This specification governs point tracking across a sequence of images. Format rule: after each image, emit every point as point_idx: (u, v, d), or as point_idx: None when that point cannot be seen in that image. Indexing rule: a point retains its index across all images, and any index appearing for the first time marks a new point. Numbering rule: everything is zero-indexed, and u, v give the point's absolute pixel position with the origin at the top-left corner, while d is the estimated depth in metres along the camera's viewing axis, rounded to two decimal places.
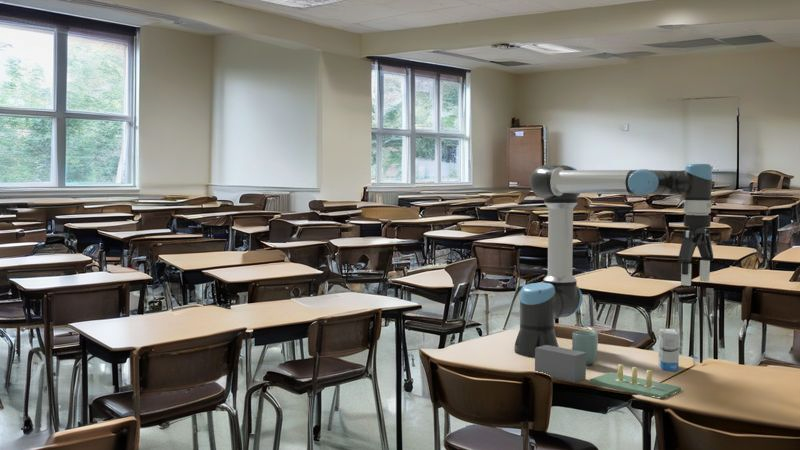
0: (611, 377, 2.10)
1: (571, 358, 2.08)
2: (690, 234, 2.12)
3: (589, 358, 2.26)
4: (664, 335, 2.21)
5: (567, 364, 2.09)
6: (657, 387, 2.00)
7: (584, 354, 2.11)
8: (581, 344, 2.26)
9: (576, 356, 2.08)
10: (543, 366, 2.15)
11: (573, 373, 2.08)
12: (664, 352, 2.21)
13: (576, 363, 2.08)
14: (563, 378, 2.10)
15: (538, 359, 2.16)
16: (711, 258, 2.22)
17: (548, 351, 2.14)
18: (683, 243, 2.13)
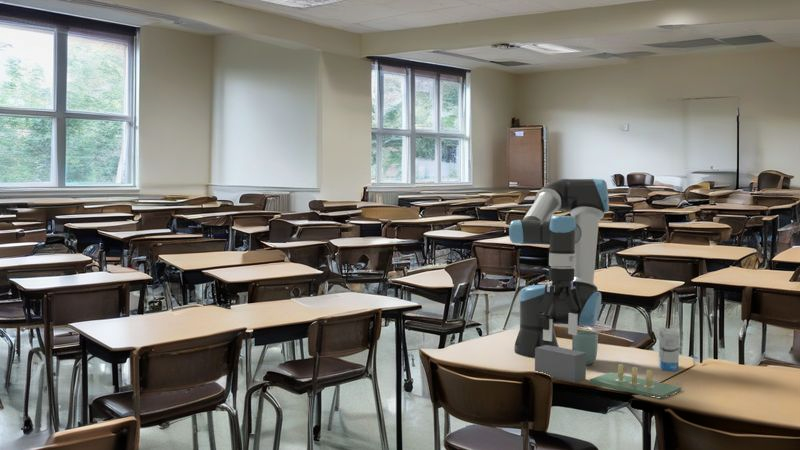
0: (611, 377, 2.10)
1: (571, 358, 2.08)
2: (551, 288, 2.08)
3: (589, 358, 2.26)
4: (664, 335, 2.21)
5: (567, 364, 2.09)
6: (657, 387, 2.00)
7: (584, 354, 2.11)
8: (581, 344, 2.26)
9: (576, 356, 2.08)
10: (543, 366, 2.15)
11: (573, 373, 2.08)
12: (664, 352, 2.21)
13: (576, 363, 2.08)
14: (563, 378, 2.10)
15: (538, 359, 2.16)
16: (579, 311, 2.18)
17: (548, 351, 2.14)
18: (544, 297, 2.08)
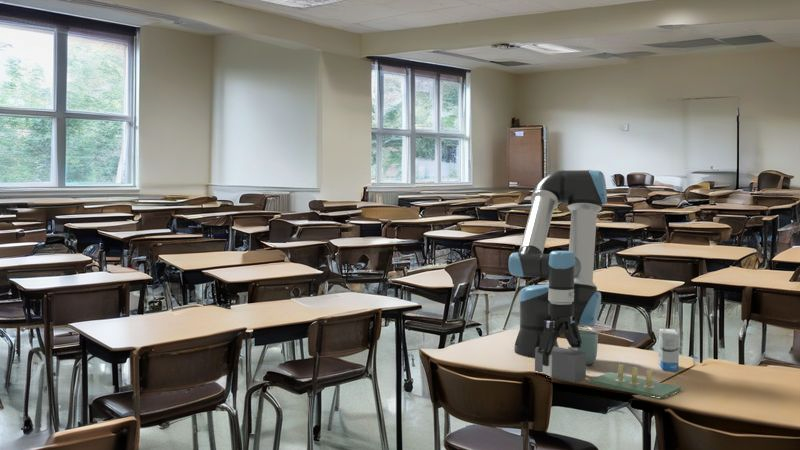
0: (611, 377, 2.10)
1: (571, 358, 2.08)
2: (550, 325, 2.08)
3: (589, 358, 2.26)
4: (664, 335, 2.21)
5: (567, 364, 2.09)
6: (657, 387, 2.00)
7: (584, 354, 2.11)
8: (581, 344, 2.26)
9: (576, 356, 2.08)
10: None
11: (573, 373, 2.08)
12: (664, 352, 2.21)
13: (576, 363, 2.08)
14: (563, 378, 2.10)
15: (538, 359, 2.16)
16: (578, 345, 2.18)
17: None
18: (544, 334, 2.09)
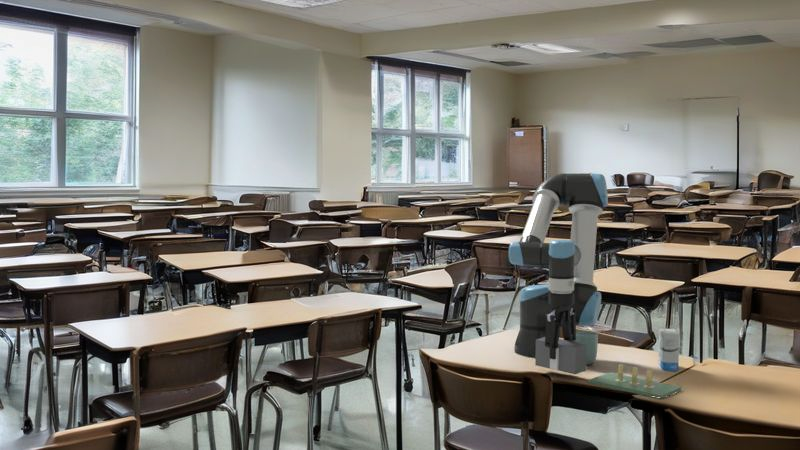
0: (611, 377, 2.10)
1: (571, 350, 2.08)
2: (551, 319, 2.09)
3: (589, 358, 2.26)
4: (664, 335, 2.21)
5: (568, 356, 2.09)
6: (657, 387, 2.00)
7: (584, 346, 2.11)
8: None
9: (576, 348, 2.08)
10: (544, 358, 2.16)
11: (574, 365, 2.08)
12: (664, 352, 2.21)
13: (576, 355, 2.08)
14: (564, 370, 2.11)
15: (539, 351, 2.17)
16: (573, 341, 2.16)
17: None
18: (547, 328, 2.10)
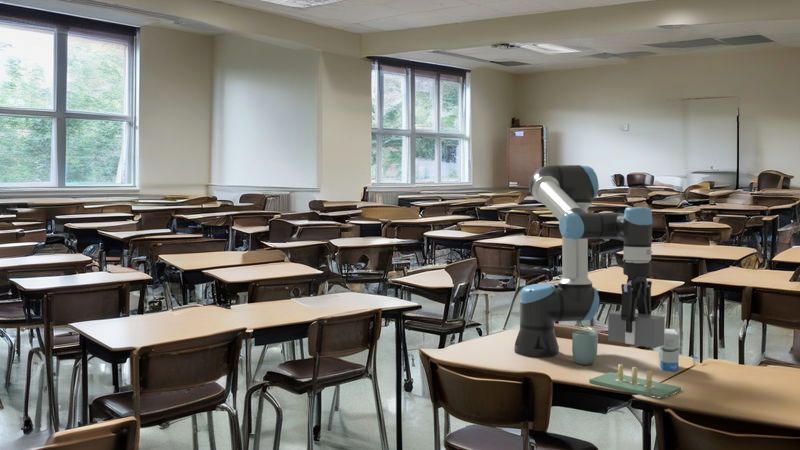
0: (611, 377, 2.10)
1: (650, 322, 1.96)
2: (628, 289, 1.97)
3: (589, 358, 2.26)
4: (664, 335, 2.21)
5: (646, 328, 1.97)
6: (657, 387, 2.00)
7: (663, 318, 1.99)
8: (581, 344, 2.26)
9: (655, 320, 1.96)
10: (618, 332, 2.03)
11: (652, 338, 1.96)
12: (664, 352, 2.21)
13: (655, 327, 1.96)
14: (641, 344, 1.98)
15: (612, 325, 2.05)
16: None
17: None
18: (623, 299, 1.98)
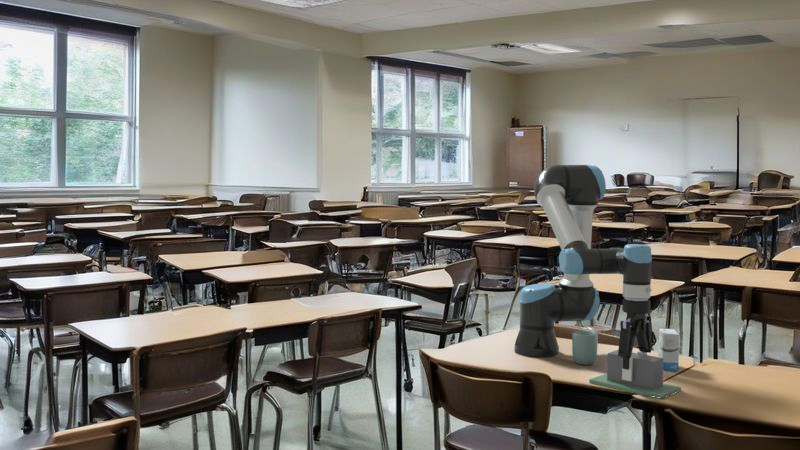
0: None
1: (649, 364, 1.97)
2: (627, 326, 1.97)
3: (589, 358, 2.26)
4: (664, 335, 2.21)
5: (644, 370, 1.98)
6: None
7: (661, 360, 2.00)
8: (581, 344, 2.26)
9: (654, 362, 1.97)
10: (617, 372, 2.04)
11: (651, 380, 1.97)
12: (664, 352, 2.21)
13: (654, 369, 1.97)
14: (639, 386, 1.99)
15: (611, 365, 2.06)
16: (649, 350, 2.06)
17: None
18: (621, 335, 1.99)
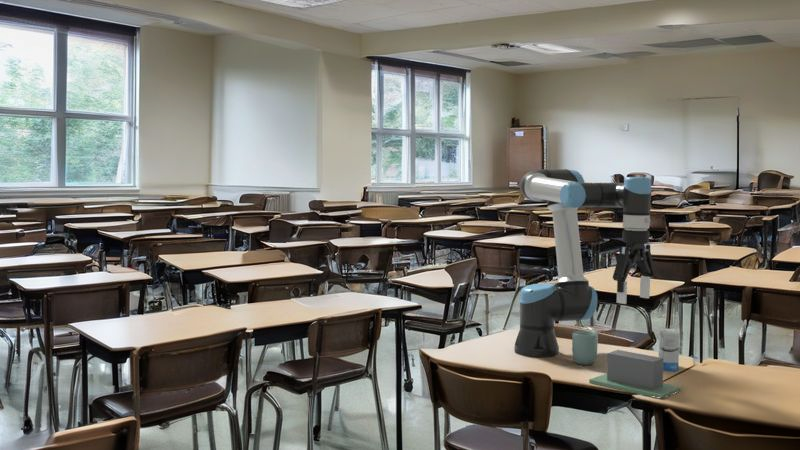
0: None
1: (649, 364, 1.97)
2: (626, 250, 2.04)
3: (589, 358, 2.26)
4: (664, 335, 2.21)
5: (644, 370, 1.98)
6: None
7: (661, 360, 2.00)
8: (581, 344, 2.26)
9: (654, 362, 1.97)
10: (617, 372, 2.04)
11: (651, 380, 1.97)
12: (664, 352, 2.21)
13: (654, 369, 1.97)
14: (639, 386, 1.99)
15: (611, 365, 2.06)
16: (652, 274, 2.15)
17: (622, 357, 2.03)
18: (619, 260, 2.05)
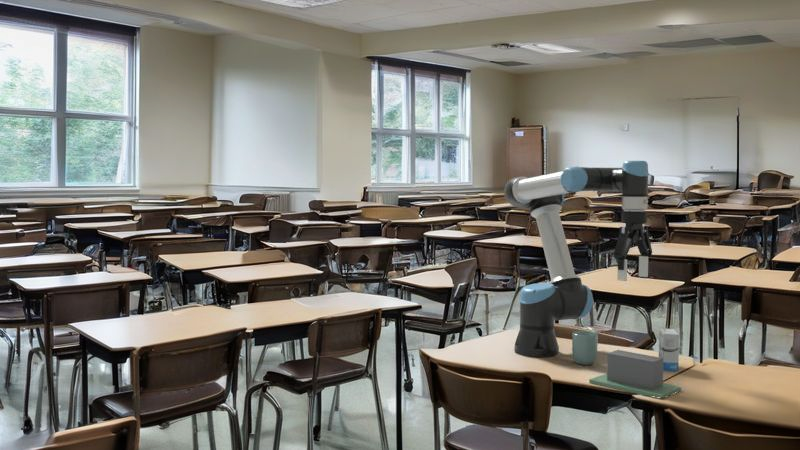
0: None
1: (649, 364, 1.97)
2: (626, 230, 2.15)
3: (589, 358, 2.26)
4: (664, 335, 2.21)
5: (644, 370, 1.98)
6: None
7: (661, 360, 2.00)
8: (581, 344, 2.26)
9: (654, 362, 1.97)
10: (617, 372, 2.04)
11: (651, 380, 1.97)
12: (664, 352, 2.21)
13: (654, 369, 1.97)
14: (639, 386, 1.99)
15: (611, 365, 2.06)
16: (649, 254, 2.25)
17: (622, 357, 2.03)
18: (619, 239, 2.16)
